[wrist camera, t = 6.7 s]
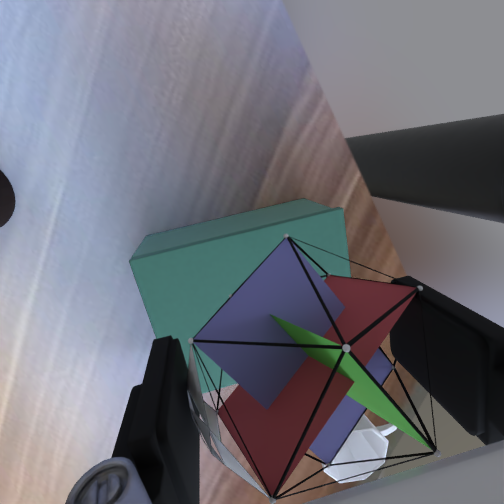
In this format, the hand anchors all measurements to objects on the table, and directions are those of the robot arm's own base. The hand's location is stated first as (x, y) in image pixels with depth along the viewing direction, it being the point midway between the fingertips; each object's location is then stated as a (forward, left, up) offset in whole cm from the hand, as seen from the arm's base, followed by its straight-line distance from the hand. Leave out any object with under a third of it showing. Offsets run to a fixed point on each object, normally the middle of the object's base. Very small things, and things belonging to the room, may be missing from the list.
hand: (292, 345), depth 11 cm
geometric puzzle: (0, 0, -3) cm, 3 cm away
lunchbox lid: (0, +5, -14) cm, 15 cm away
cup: (-8, +23, -21) cm, 32 cm away
